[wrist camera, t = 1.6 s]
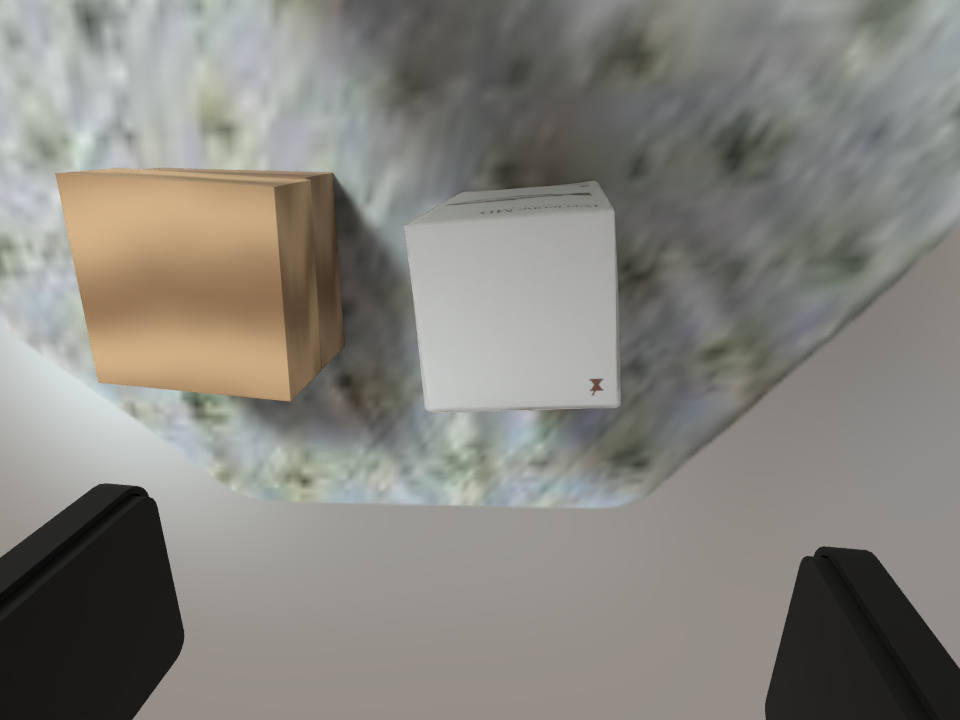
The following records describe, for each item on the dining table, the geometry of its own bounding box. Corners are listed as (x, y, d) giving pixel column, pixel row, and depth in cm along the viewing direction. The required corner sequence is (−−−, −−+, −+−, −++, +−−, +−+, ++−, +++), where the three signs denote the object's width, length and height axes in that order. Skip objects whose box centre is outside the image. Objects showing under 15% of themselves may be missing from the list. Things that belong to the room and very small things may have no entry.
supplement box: (600, 176, 30) (625, 205, 19) (601, 315, 33) (624, 416, 21) (458, 187, 32) (398, 220, 20) (470, 320, 34) (423, 419, 22)
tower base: (164, 167, 34) (114, 172, 30) (335, 172, 32) (306, 177, 29) (191, 335, 37) (151, 357, 33) (346, 344, 36) (322, 368, 32)
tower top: (118, 168, 30) (55, 173, 26) (310, 179, 29) (273, 187, 25) (149, 354, 33) (98, 382, 30) (321, 370, 32) (290, 401, 29)
